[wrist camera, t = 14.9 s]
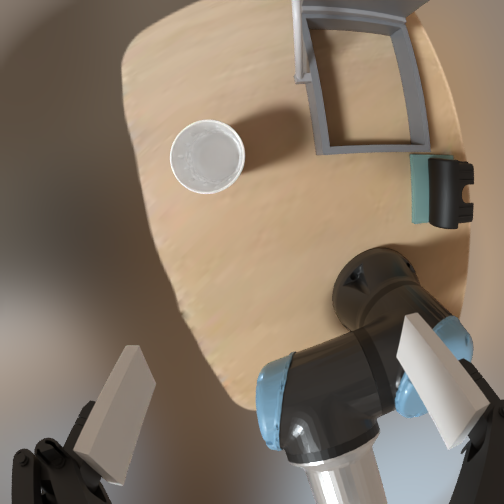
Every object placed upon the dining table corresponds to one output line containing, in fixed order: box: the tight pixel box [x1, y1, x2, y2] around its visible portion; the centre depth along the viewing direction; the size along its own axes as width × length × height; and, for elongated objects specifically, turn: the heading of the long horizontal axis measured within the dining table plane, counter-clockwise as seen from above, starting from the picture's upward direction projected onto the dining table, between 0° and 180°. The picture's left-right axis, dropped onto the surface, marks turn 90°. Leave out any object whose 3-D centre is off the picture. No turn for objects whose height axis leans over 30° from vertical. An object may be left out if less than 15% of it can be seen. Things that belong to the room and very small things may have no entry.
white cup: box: [170, 120, 245, 194], centre depth 32 cm, size 8×8×10 cm
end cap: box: [428, 158, 474, 229], centre depth 33 cm, size 10×7×7 cm
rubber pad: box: [410, 154, 454, 224], centre depth 37 cm, size 11×9×1 cm
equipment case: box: [292, 0, 431, 155], centre depth 23 cm, size 23×19×21 cm
